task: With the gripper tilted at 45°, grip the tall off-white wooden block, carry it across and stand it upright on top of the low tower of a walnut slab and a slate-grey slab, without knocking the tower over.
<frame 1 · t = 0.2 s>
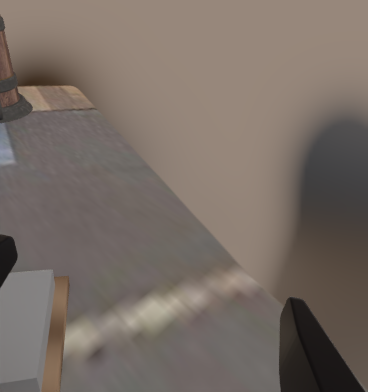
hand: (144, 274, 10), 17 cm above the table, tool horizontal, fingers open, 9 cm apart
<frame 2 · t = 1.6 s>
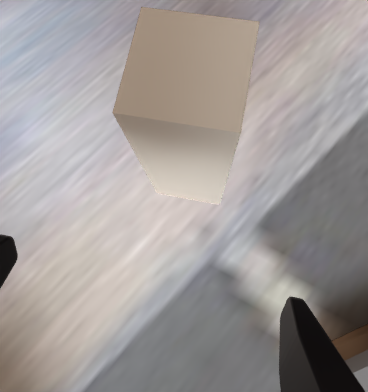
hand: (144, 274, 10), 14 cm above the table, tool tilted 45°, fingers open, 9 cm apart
tall block: (194, 169, 25), on the table
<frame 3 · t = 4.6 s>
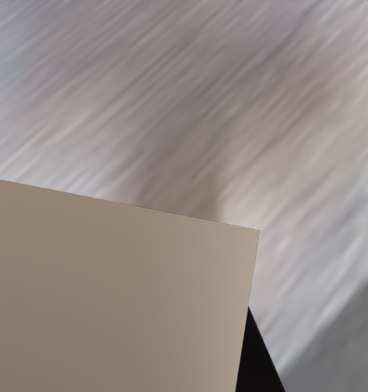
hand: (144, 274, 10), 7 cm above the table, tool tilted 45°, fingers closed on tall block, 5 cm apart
tall block: (160, 300, 16), on the table, touching gripper
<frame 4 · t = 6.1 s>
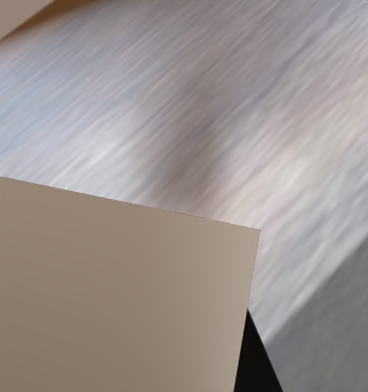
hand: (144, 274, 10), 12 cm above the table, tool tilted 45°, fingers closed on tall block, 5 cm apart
tall block: (164, 301, 16), point 5 cm above the table, touching gripper
when the fingers open (11 cm above the table, at t = 10.0 s): tall block drops 1 cm, resting on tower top.
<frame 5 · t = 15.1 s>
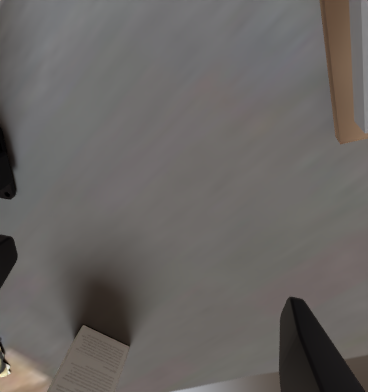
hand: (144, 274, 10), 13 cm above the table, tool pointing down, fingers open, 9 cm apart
skincare box: (102, 342, 36), on the table
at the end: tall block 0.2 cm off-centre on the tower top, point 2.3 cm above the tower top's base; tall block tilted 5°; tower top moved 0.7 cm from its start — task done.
